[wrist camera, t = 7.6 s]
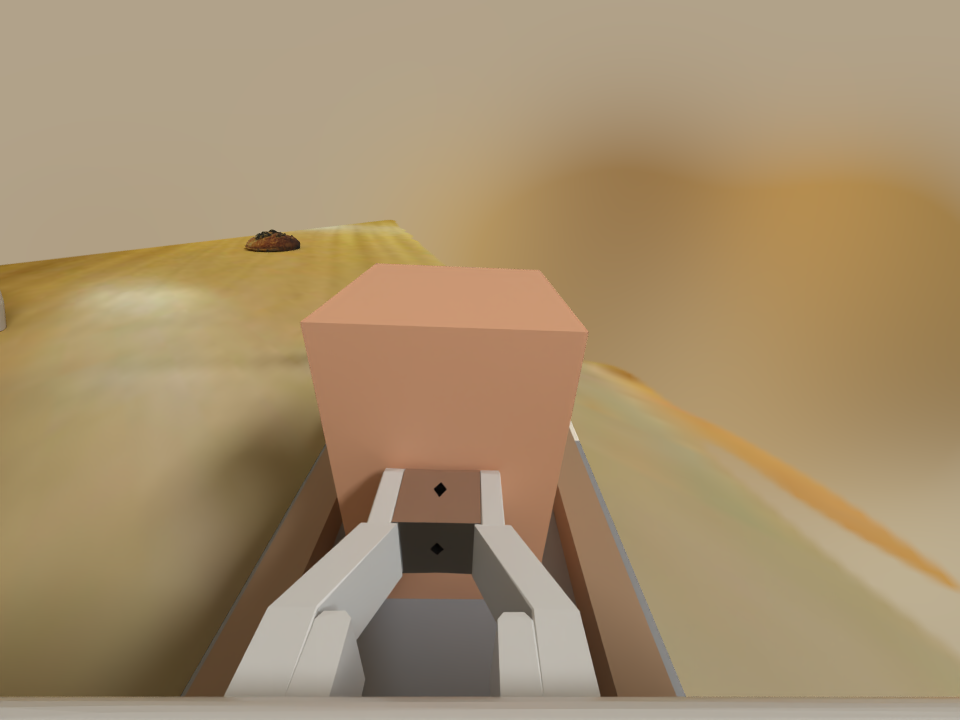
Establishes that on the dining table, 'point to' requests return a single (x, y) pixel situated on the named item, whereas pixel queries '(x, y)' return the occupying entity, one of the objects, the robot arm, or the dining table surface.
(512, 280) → the block
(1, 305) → the cup
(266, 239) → the bread roll
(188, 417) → the dining table surface
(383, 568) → the robot arm
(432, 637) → the tray
